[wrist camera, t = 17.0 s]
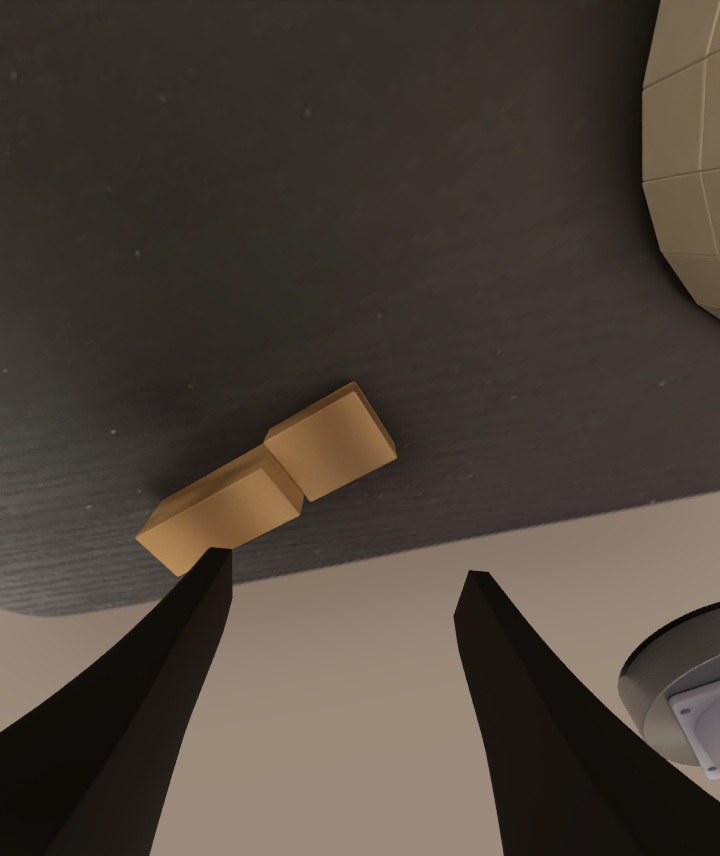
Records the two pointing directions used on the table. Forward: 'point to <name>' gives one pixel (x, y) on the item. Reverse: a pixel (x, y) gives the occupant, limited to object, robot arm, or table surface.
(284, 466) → the tan stepped block
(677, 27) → the bowl
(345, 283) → the table surface
